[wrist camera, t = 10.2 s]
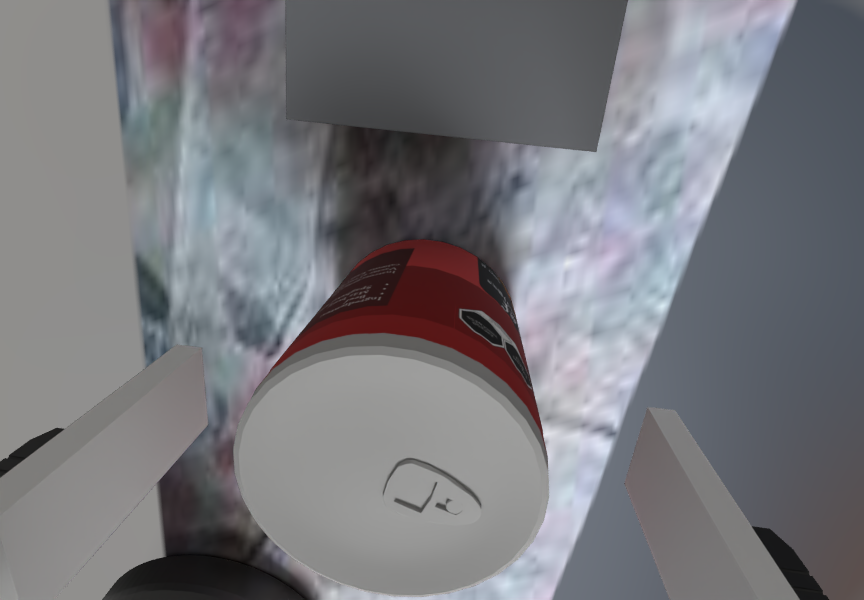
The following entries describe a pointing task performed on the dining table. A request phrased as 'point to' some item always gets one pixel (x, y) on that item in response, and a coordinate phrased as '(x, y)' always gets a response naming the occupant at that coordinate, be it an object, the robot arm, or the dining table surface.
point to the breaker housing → (455, 67)
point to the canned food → (400, 430)
